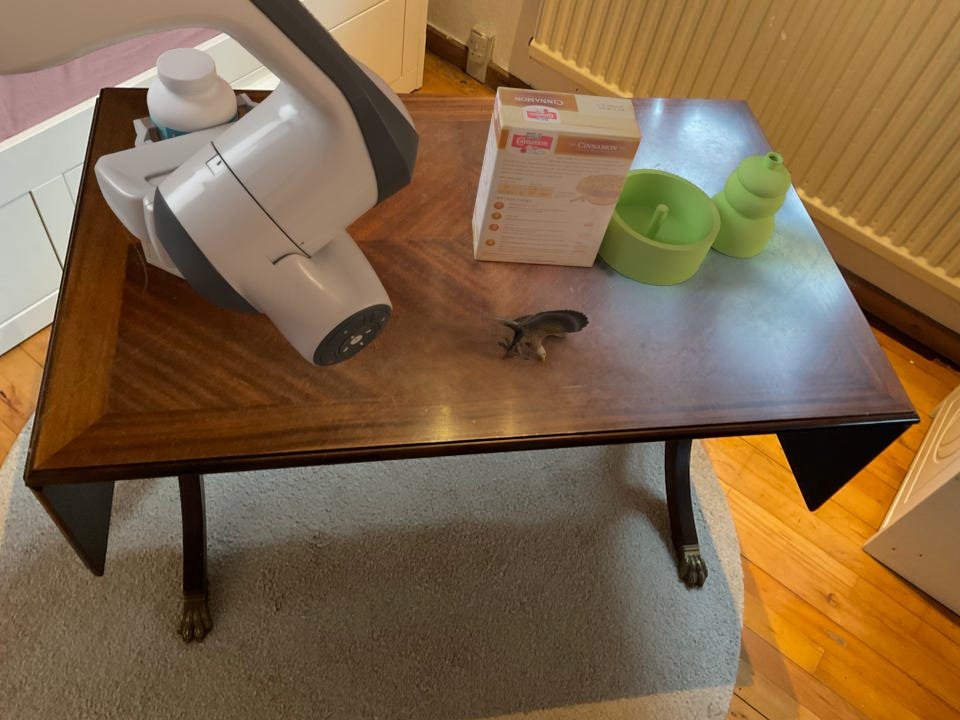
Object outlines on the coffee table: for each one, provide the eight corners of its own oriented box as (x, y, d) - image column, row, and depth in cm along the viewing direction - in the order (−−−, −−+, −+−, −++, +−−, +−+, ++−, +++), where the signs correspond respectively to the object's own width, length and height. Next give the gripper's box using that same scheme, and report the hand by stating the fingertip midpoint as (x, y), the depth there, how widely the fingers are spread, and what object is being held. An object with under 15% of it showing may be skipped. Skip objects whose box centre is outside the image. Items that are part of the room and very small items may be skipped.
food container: (619, 292, 90) (655, 214, 80) (575, 210, 97) (602, 130, 88) (787, 267, 97) (839, 194, 87) (734, 193, 105) (775, 117, 95)
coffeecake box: (584, 228, 96) (632, 97, 80) (593, 269, 91) (645, 138, 76) (470, 220, 93) (496, 83, 78) (473, 261, 89) (502, 124, 74)
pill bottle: (151, 195, 71) (117, 68, 60) (197, 153, 76) (173, 28, 65) (219, 223, 70) (197, 99, 60) (262, 179, 75) (248, 57, 64)
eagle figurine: (540, 389, 78) (599, 340, 81) (518, 336, 74) (580, 287, 77) (497, 368, 84) (553, 323, 87) (474, 318, 80) (534, 273, 83)
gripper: (370, 143, 63) (294, 56, 69) (127, 215, 54) (63, 109, 60) (368, 199, 68) (297, 114, 74) (145, 274, 59) (84, 171, 65)
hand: (191, 112), depth 67 cm, fingers closed on pill bottle, 7 cm apart
